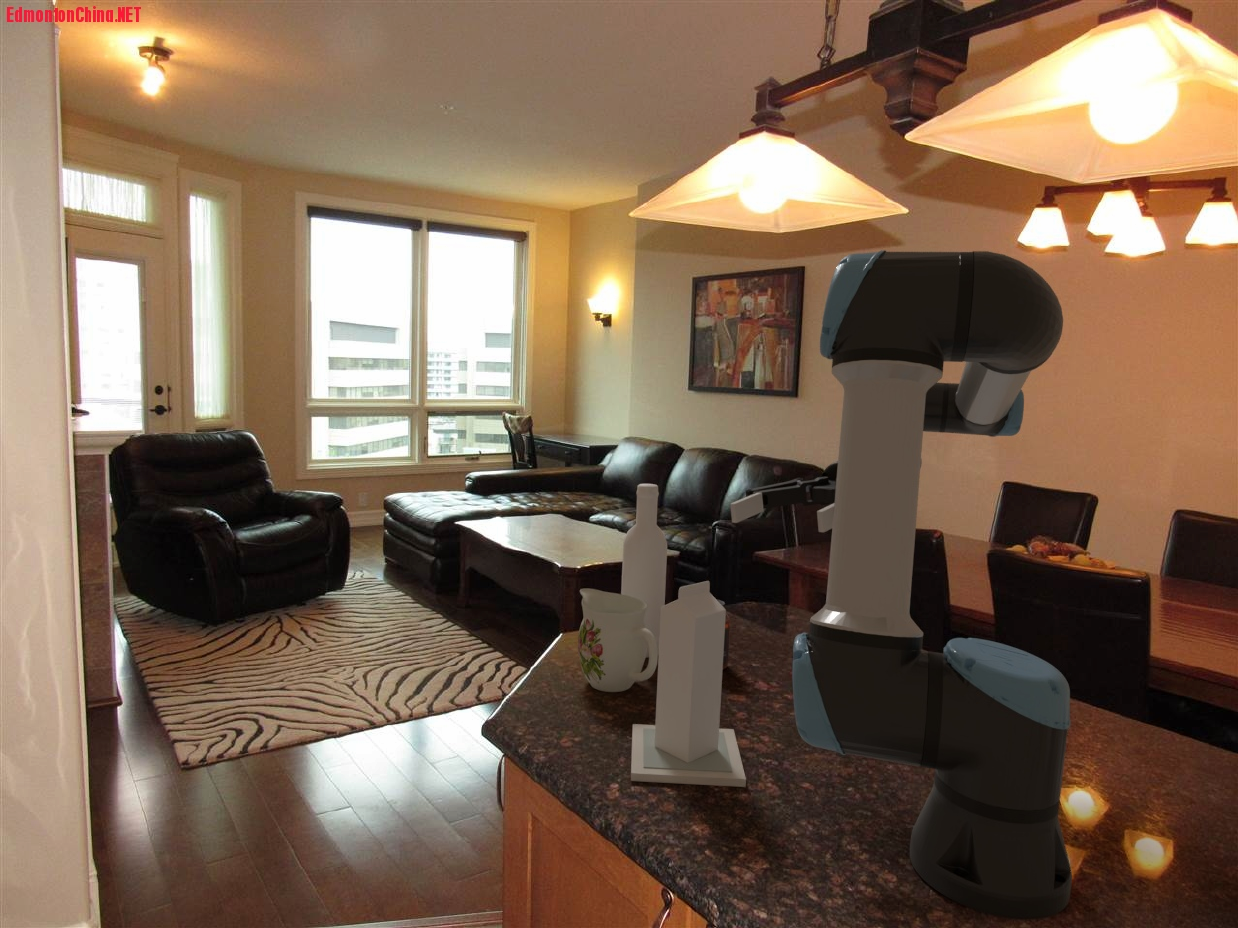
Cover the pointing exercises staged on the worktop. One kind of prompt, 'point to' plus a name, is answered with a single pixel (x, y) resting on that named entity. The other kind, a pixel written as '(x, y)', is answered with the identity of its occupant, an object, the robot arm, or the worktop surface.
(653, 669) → the pitcher
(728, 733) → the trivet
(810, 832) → the worktop surface
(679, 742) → the milk
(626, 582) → the bottle
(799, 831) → the worktop surface
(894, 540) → the robot arm
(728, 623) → the supplement bottle
